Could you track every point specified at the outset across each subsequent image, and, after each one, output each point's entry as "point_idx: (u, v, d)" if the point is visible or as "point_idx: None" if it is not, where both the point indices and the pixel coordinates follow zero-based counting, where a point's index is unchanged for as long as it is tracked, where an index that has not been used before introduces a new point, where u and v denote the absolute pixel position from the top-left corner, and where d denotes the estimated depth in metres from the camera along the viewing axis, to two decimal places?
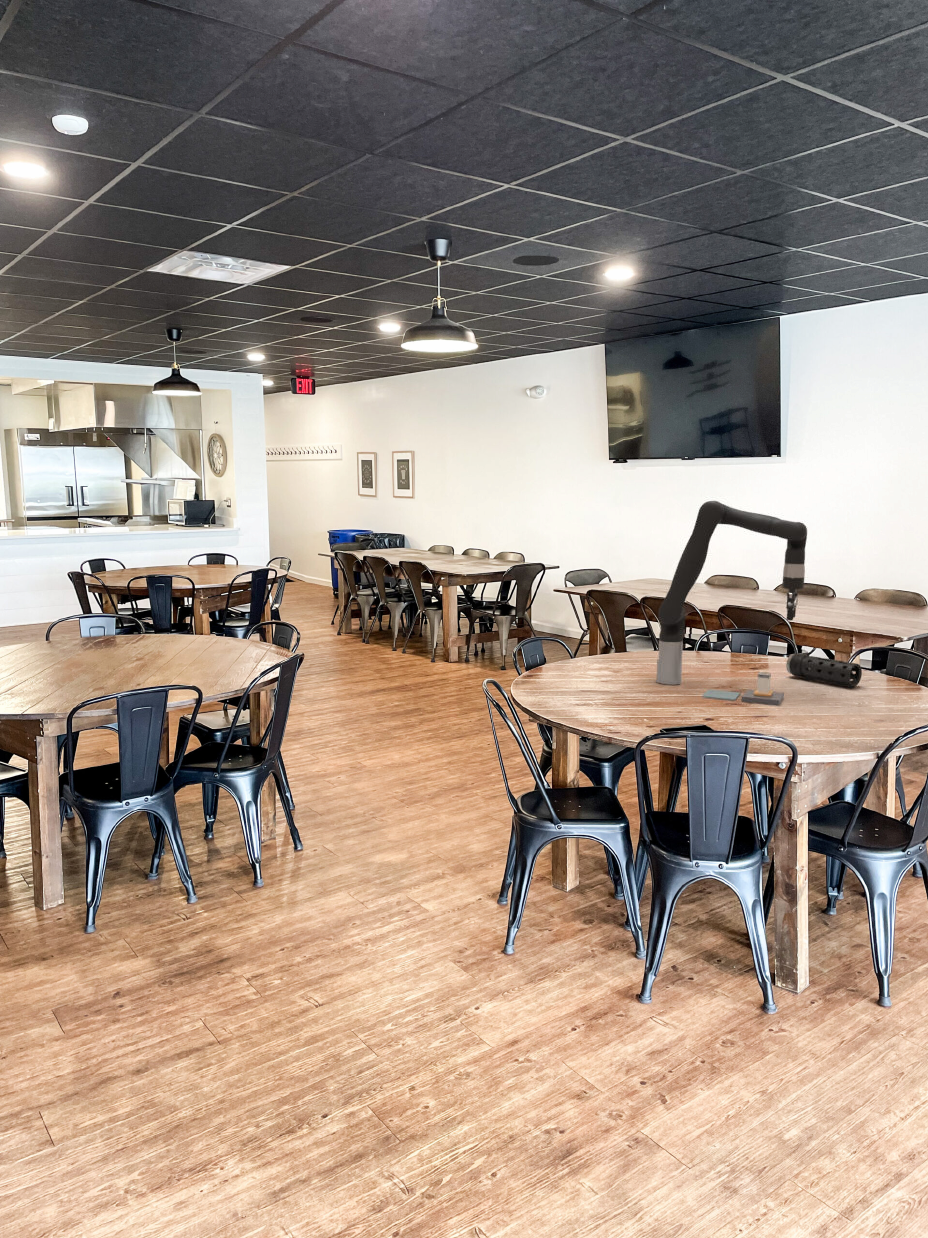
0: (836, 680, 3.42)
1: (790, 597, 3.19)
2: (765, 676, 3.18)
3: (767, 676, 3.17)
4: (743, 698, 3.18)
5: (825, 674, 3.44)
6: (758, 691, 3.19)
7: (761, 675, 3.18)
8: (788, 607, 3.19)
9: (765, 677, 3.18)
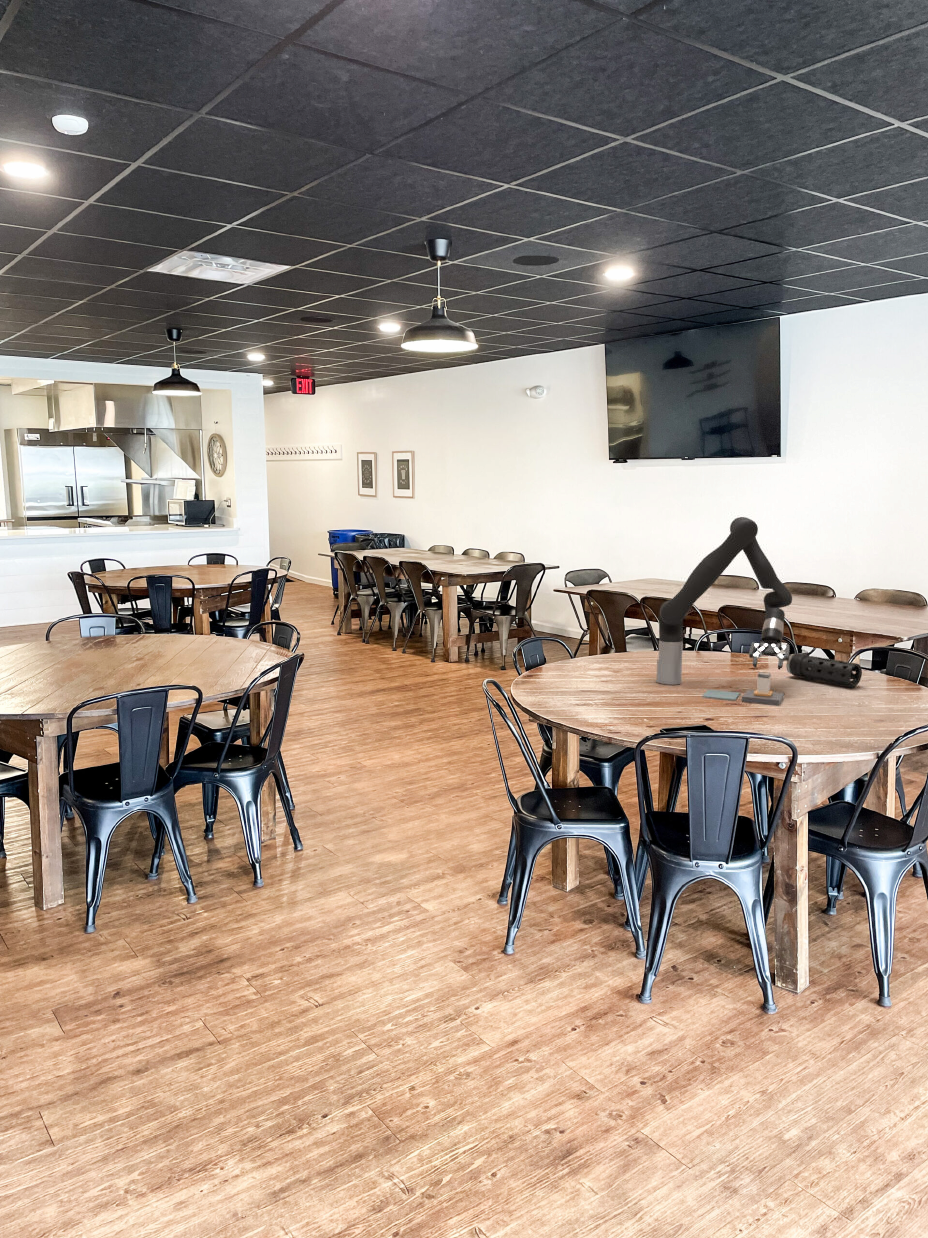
0: (836, 680, 3.42)
1: (789, 649, 3.27)
2: (765, 676, 3.18)
3: (767, 676, 3.17)
4: (743, 698, 3.18)
5: (825, 674, 3.44)
6: (758, 691, 3.19)
7: (761, 675, 3.18)
8: (788, 657, 3.24)
9: (765, 677, 3.18)
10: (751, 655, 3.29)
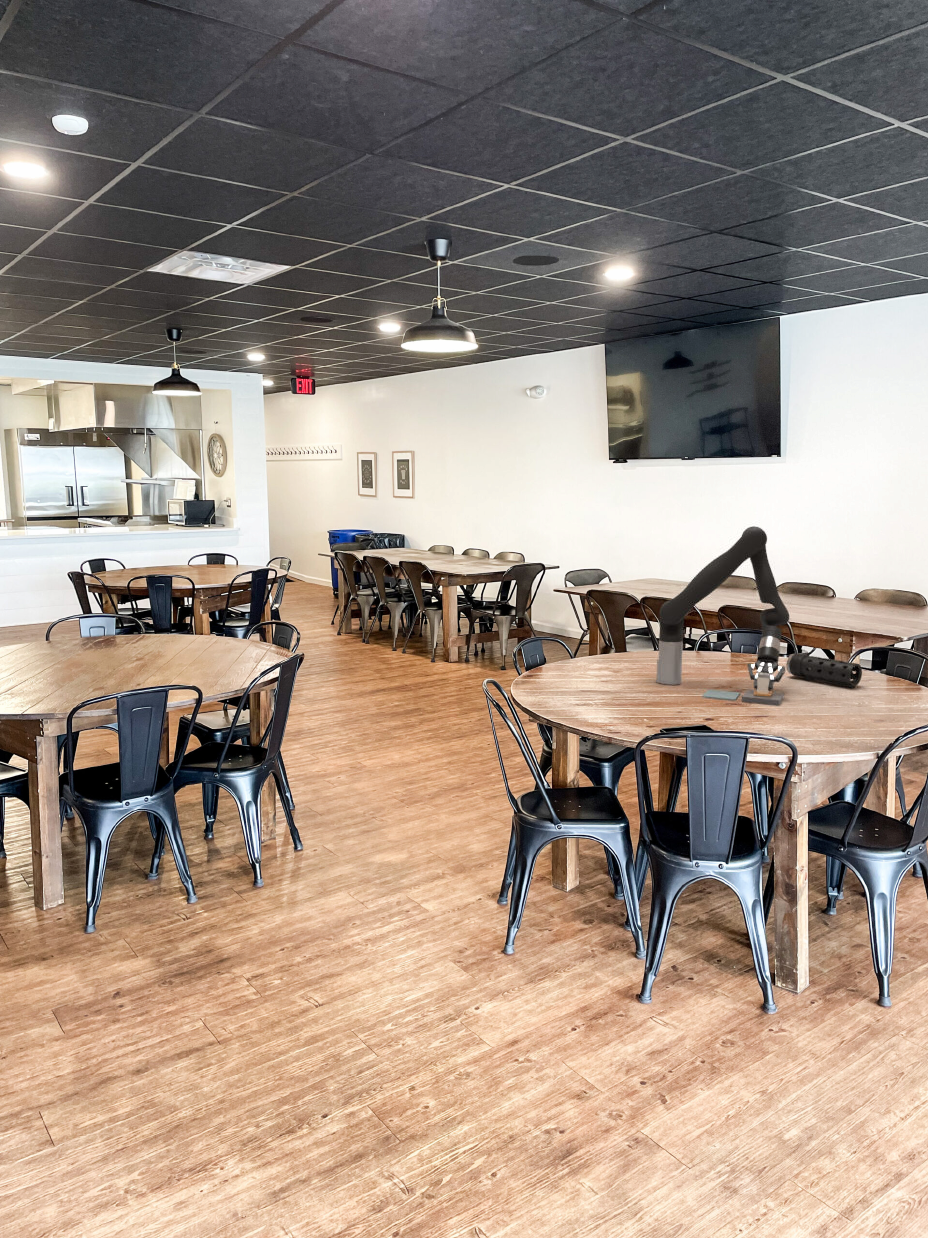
0: (836, 680, 3.42)
1: (783, 672, 3.20)
2: (765, 676, 3.18)
3: (767, 676, 3.17)
4: (743, 698, 3.18)
5: (825, 674, 3.44)
6: (758, 691, 3.19)
7: (761, 675, 3.18)
8: (778, 678, 3.19)
9: (765, 677, 3.18)
10: (752, 677, 3.22)
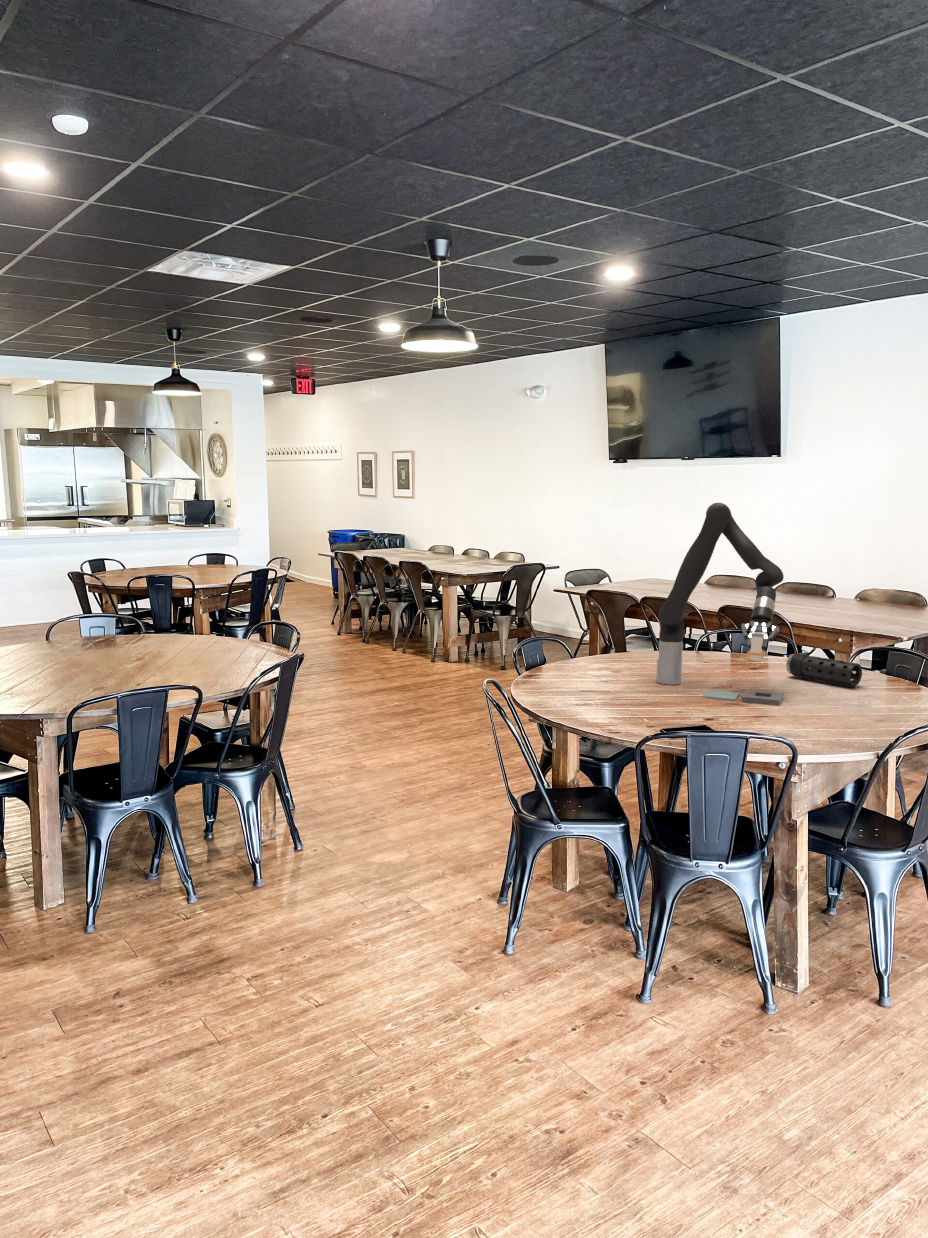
0: (837, 680, 3.42)
1: (777, 631, 3.19)
2: (759, 635, 3.17)
3: (761, 635, 3.16)
4: (743, 698, 3.18)
5: (825, 674, 3.44)
6: (752, 650, 3.18)
7: (755, 634, 3.17)
8: (772, 637, 3.18)
9: (759, 636, 3.17)
10: (746, 636, 3.21)
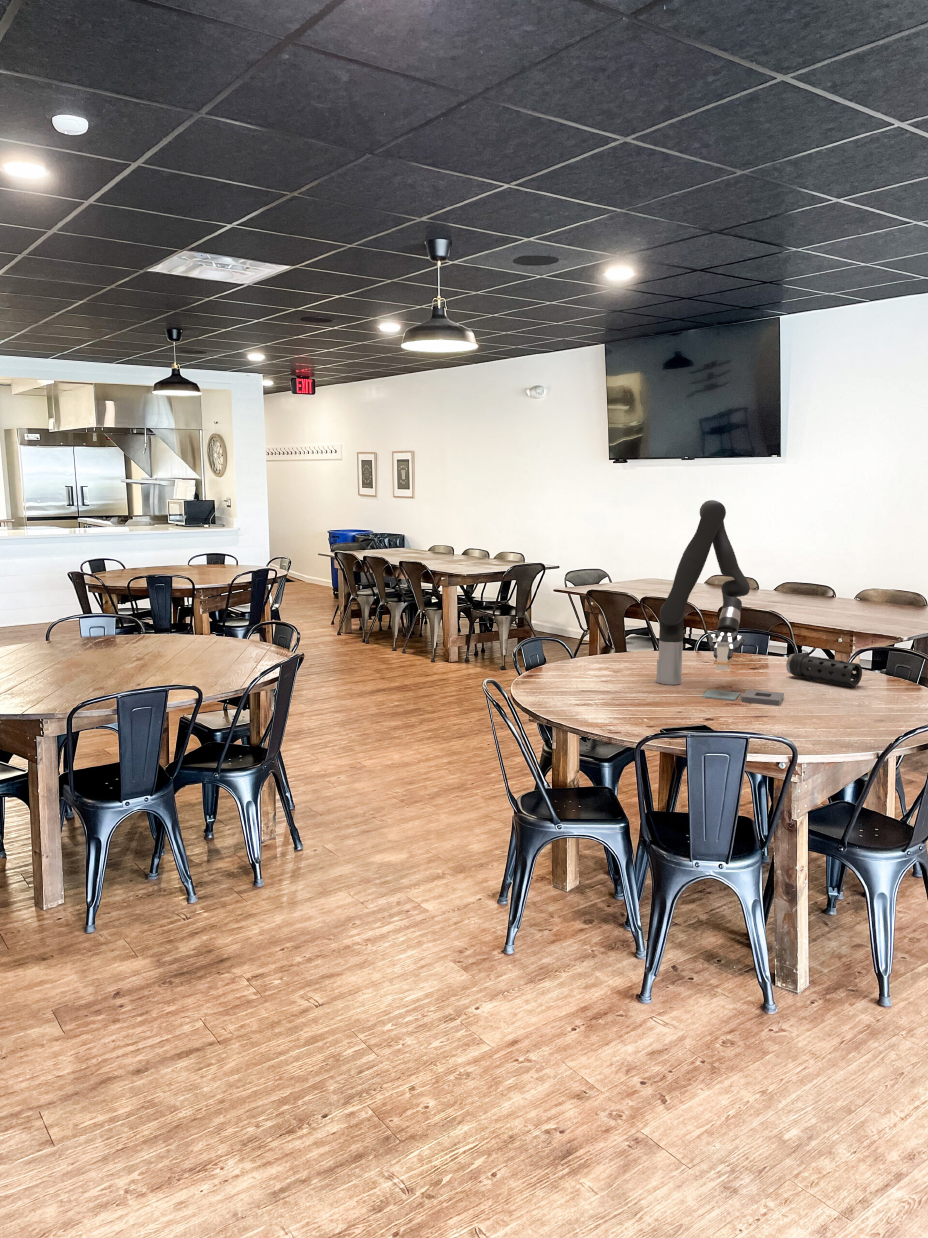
0: (837, 680, 3.42)
1: (742, 641, 3.25)
2: (724, 645, 3.23)
3: (726, 645, 3.22)
4: (743, 698, 3.18)
5: (826, 674, 3.44)
6: (718, 660, 3.25)
7: (720, 644, 3.23)
8: (738, 647, 3.24)
9: (724, 646, 3.23)
10: (712, 647, 3.27)
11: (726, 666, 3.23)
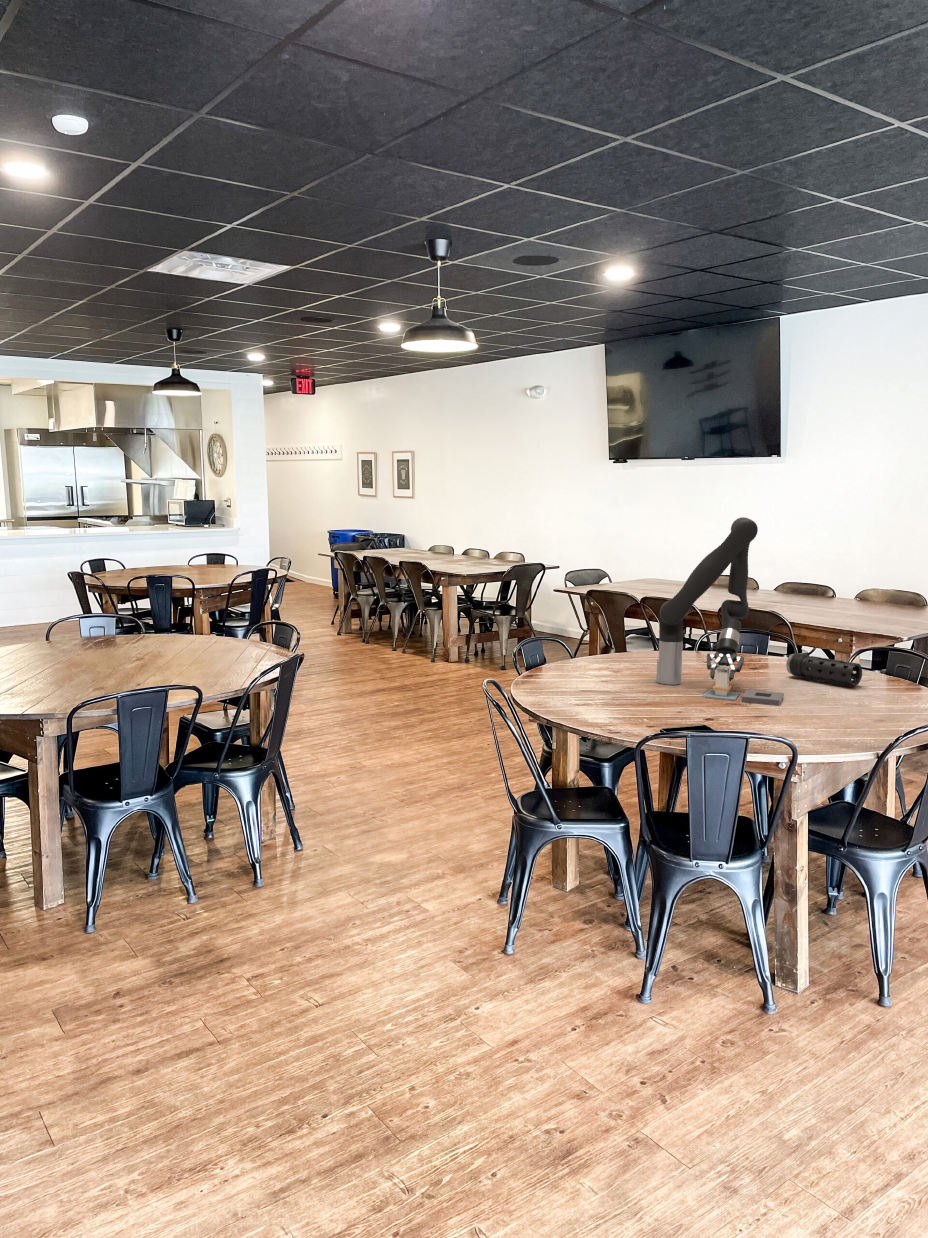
0: (837, 680, 3.42)
1: (742, 661, 3.27)
2: (723, 671, 3.24)
3: (725, 671, 3.24)
4: (743, 698, 3.18)
5: (826, 674, 3.44)
6: (717, 685, 3.26)
7: (720, 670, 3.25)
8: (739, 668, 3.25)
9: (723, 672, 3.24)
10: (709, 667, 3.29)
11: (725, 691, 3.25)
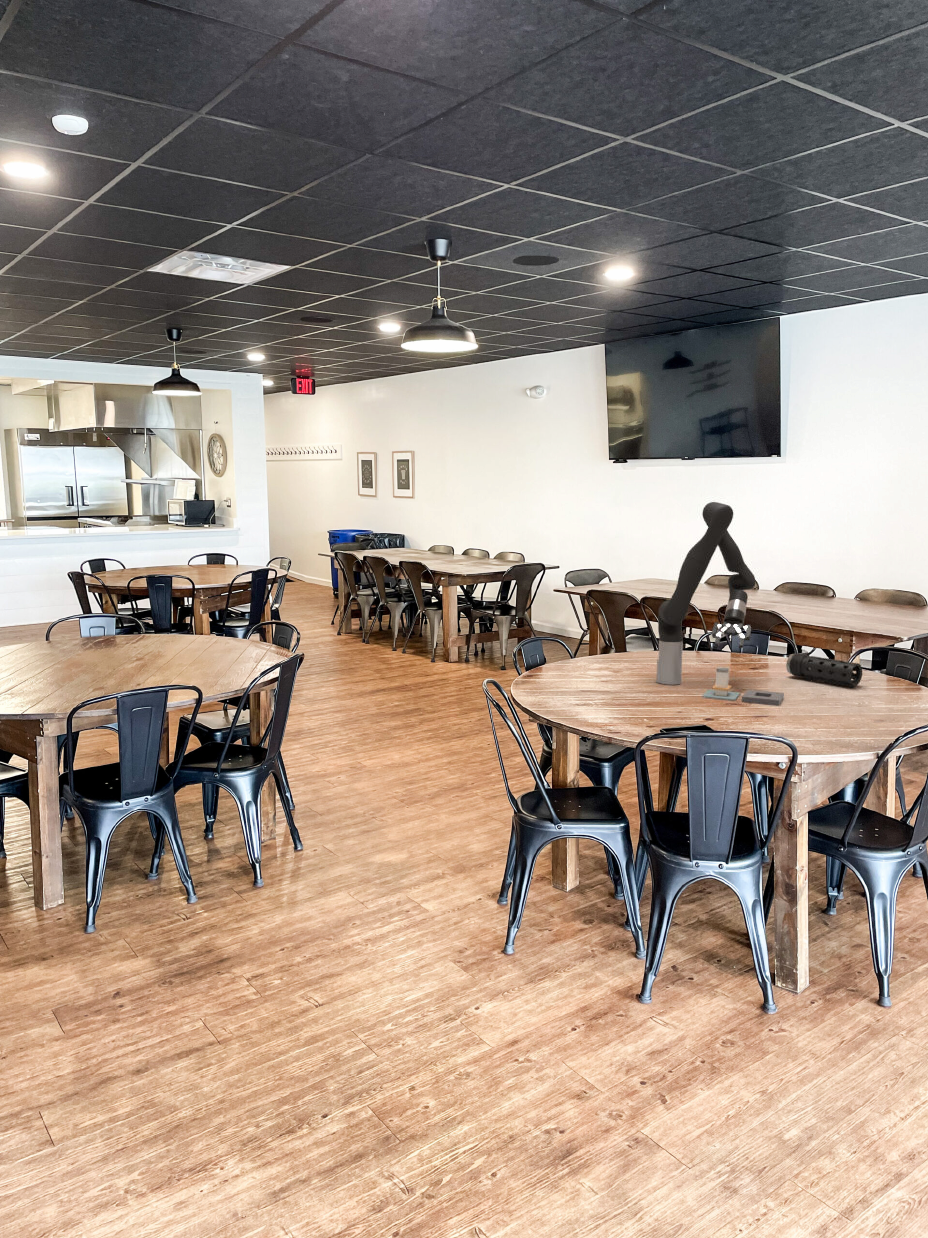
0: (837, 680, 3.42)
1: (750, 629, 3.37)
2: (723, 671, 3.24)
3: (725, 671, 3.24)
4: (743, 698, 3.18)
5: (826, 674, 3.45)
6: (717, 685, 3.26)
7: (719, 670, 3.25)
8: (749, 636, 3.34)
9: (723, 672, 3.24)
10: (714, 635, 3.40)
11: (725, 691, 3.25)
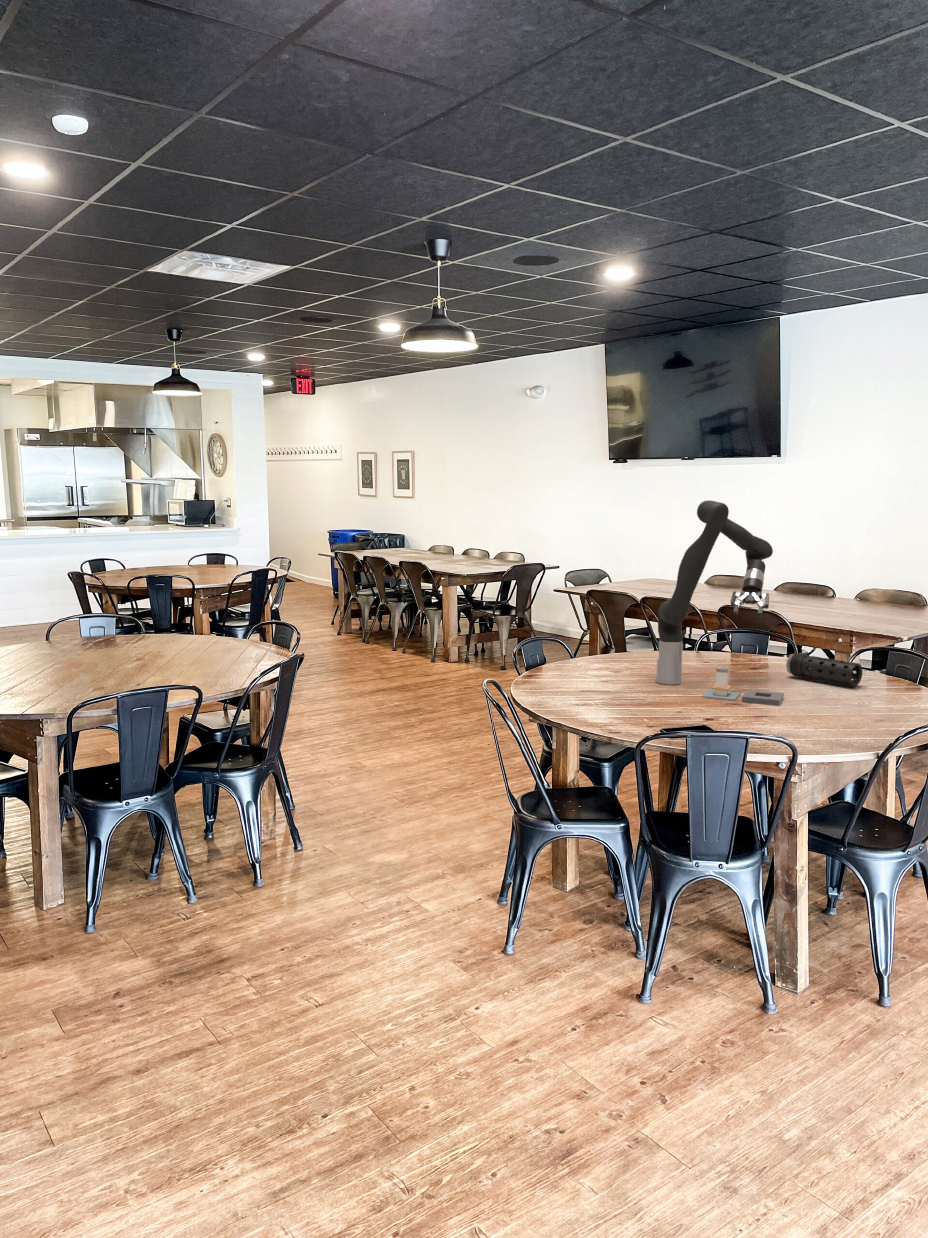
0: (837, 680, 3.42)
1: (768, 598, 3.41)
2: (723, 671, 3.24)
3: (725, 671, 3.24)
4: (743, 698, 3.18)
5: (826, 674, 3.45)
6: (717, 685, 3.26)
7: (719, 670, 3.25)
8: (767, 604, 3.39)
9: (723, 672, 3.24)
10: (732, 603, 3.44)
11: (725, 691, 3.25)
